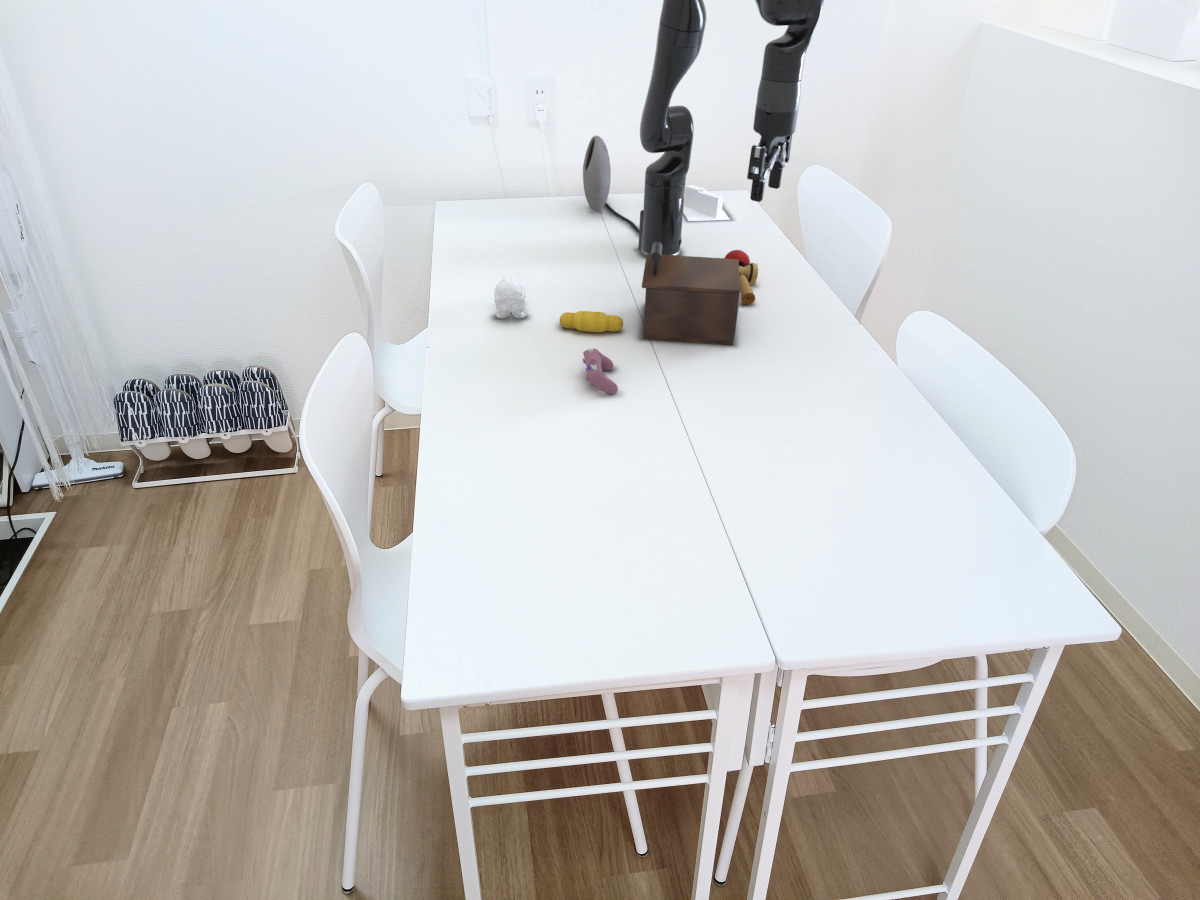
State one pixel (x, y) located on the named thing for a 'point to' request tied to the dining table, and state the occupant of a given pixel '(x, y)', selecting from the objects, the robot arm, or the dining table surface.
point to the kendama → (745, 275)
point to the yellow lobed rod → (591, 321)
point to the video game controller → (599, 370)
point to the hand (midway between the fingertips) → (765, 194)
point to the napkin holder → (703, 205)
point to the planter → (596, 174)
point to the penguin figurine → (510, 298)
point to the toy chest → (690, 316)
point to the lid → (690, 273)
